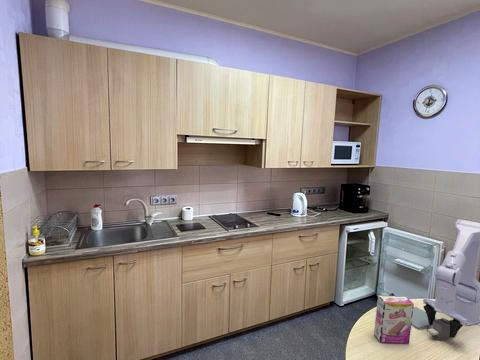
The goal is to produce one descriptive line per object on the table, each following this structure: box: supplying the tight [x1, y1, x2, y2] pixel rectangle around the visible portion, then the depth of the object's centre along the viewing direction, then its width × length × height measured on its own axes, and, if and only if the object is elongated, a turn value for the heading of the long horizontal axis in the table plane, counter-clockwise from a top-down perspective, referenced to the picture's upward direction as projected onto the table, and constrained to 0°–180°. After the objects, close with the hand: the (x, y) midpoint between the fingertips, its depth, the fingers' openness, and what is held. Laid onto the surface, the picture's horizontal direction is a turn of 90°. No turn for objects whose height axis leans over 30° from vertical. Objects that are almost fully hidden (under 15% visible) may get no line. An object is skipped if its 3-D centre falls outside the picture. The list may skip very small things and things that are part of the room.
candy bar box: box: [373, 295, 415, 345], centre depth 95 cm, size 11×5×16 cm, turn 89°
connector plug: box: [427, 317, 451, 342], centre depth 98 cm, size 10×4×6 cm, turn 108°
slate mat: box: [411, 306, 438, 331], centre depth 110 cm, size 14×11×1 cm
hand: (441, 330), depth 98 cm, fingers open, 7 cm apart
